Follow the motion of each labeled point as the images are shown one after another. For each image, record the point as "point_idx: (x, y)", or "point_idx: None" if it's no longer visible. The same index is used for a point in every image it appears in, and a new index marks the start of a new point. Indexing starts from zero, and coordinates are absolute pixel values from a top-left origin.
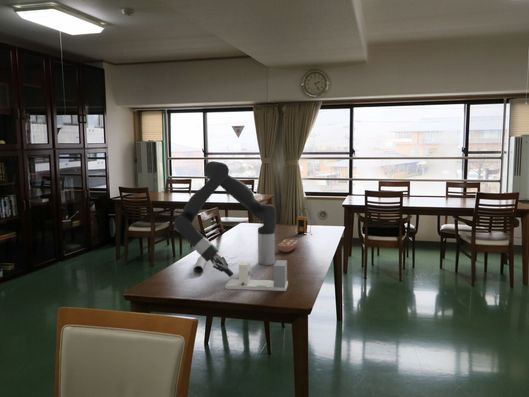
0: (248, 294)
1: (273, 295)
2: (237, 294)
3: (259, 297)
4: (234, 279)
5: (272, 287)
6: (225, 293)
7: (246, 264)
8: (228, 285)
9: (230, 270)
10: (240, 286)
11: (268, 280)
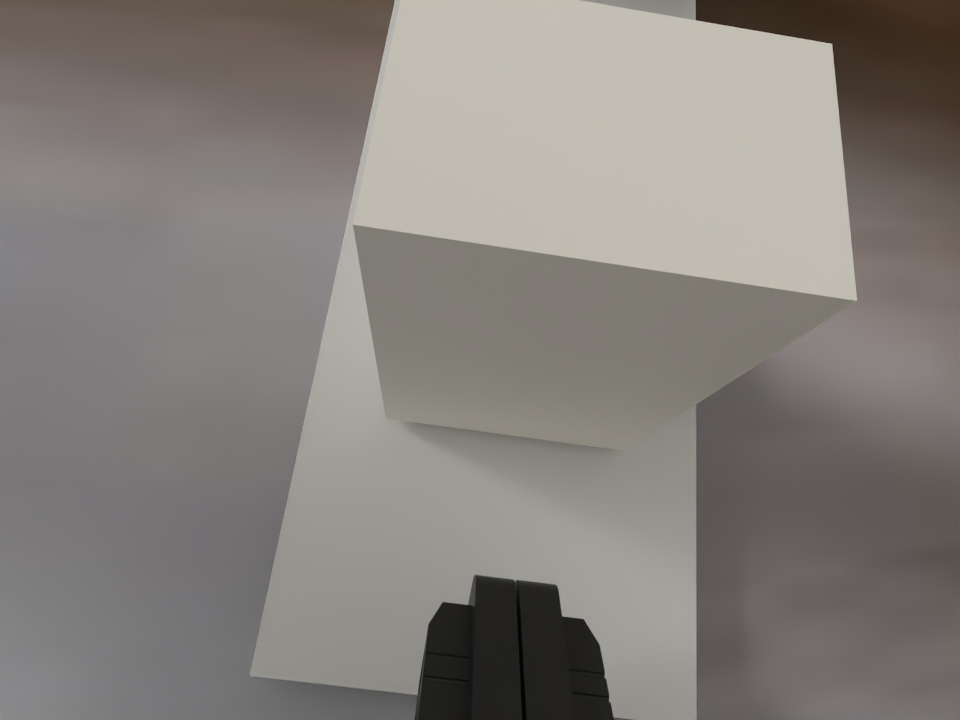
0: (882, 309)
1: (851, 42)
2: (918, 462)
3: (956, 181)
4: (292, 574)
5: (693, 7)
6: (919, 669)
7: (751, 60)
8: (694, 655)
9: (499, 666)
10: (692, 423)
11: (392, 28)
